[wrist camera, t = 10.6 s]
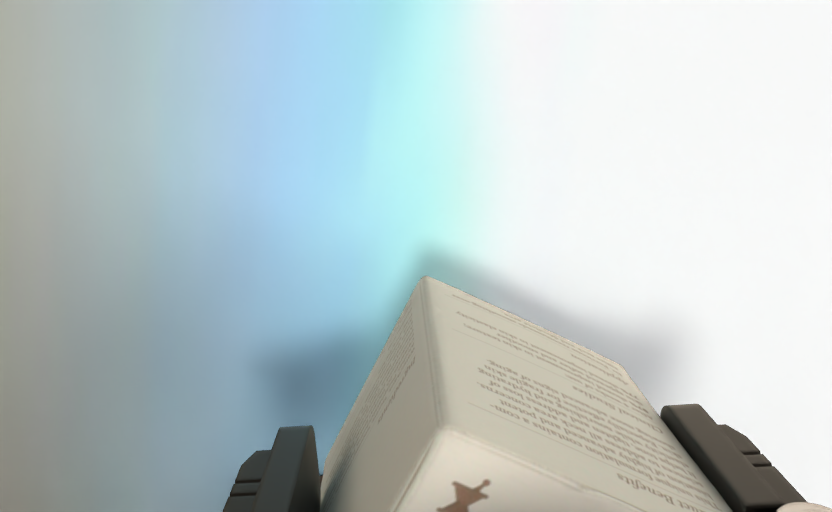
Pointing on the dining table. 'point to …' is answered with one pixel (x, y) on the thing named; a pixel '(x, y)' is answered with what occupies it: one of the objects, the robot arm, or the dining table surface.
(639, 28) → the dining table surface
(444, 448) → the product box
